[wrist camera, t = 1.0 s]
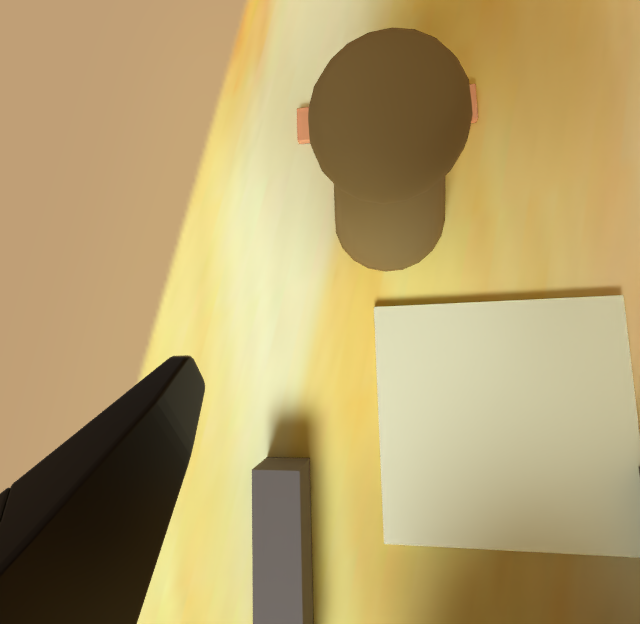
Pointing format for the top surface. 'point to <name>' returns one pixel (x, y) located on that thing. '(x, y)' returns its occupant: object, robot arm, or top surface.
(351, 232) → the cork
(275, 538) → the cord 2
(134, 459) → the robot arm
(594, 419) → the pad
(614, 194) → the top surface
